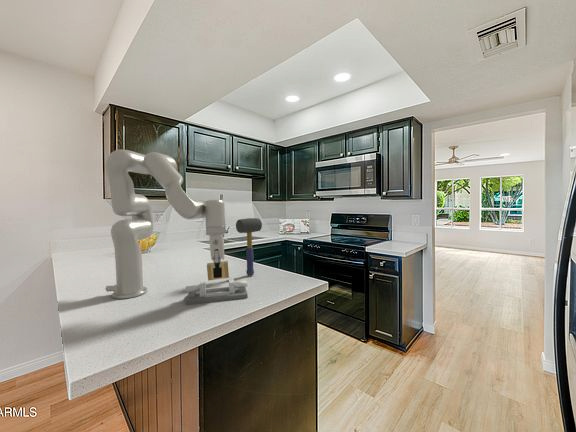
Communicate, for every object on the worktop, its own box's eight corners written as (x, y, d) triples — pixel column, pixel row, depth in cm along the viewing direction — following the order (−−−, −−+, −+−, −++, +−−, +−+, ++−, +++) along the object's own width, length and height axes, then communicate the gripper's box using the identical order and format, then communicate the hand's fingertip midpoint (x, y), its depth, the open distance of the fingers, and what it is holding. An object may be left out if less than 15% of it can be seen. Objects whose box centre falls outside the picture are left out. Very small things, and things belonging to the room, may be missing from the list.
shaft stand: (184, 304, 95) (184, 289, 95) (188, 295, 105) (187, 281, 105) (248, 297, 101) (248, 283, 101) (246, 289, 111) (245, 276, 111)
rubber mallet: (243, 279, 126) (242, 219, 125) (236, 276, 132) (234, 218, 131) (264, 274, 134) (262, 217, 133) (256, 272, 140) (254, 217, 139)
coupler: (228, 275, 106) (227, 260, 105) (229, 277, 102) (227, 262, 101) (208, 277, 104) (207, 263, 103) (208, 280, 100) (206, 265, 99)
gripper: (225, 232, 95) (228, 280, 95) (225, 228, 111) (227, 270, 112) (204, 233, 93) (206, 283, 94) (207, 229, 109) (209, 272, 110)
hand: (217, 275), depth 103 cm, fingers closed on coupler, 4 cm apart
